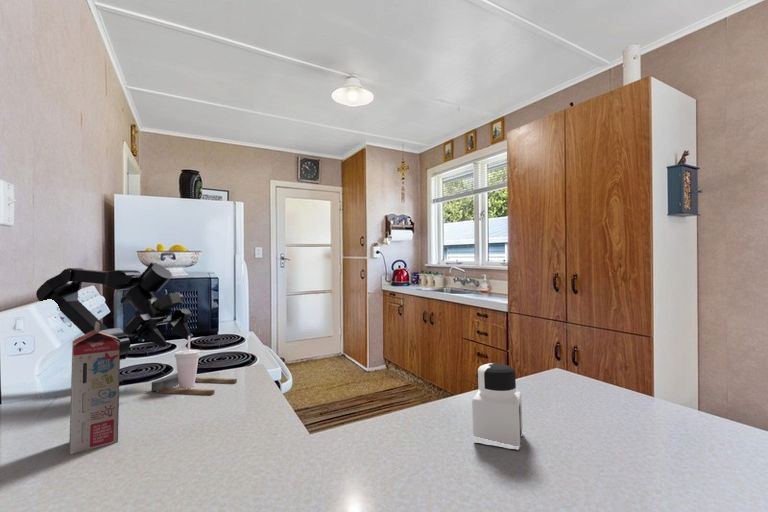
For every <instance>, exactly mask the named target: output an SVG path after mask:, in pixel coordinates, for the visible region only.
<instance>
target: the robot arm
mask: <svg viewBox="0 0 768 512" xmlns="http://www.w3.org/2000/svg"><path fill="white" fill-rule="evenodd" d="M172 277H173V275H172V272H171V271H170V270H169V269H167V268H165V267H163V266H162V265H159V264H158V263H157V262H150V264H148V266H147V267H146V268H145V270H144V271H143V272H142V274H141V272H140V271H139V270H132V269H126V270H125V269H117V270H108V271H105V270H104V271H103V270H93V269H83V268H82V267H81V268H79V267H77V268H76V267H75V268H73V267H72V268H71V267H68V268H65V269H63V270H62V271H61V272H60V273H59V274H57V275H55V276H53V277H51V278H49V279H47V280H46V281H45V282H44V283H43V284H41V285H40V286H39V288H38V289H37V290H36V293H35V294H36V298H37V299H38V300H37V301H39V302H40V301H43V300H47V299H52V300H54V301H55V302H56V303H57V304H58V306H59V308H60V310H59V311H60V312H61V313H62V314H63V315H64V316H65V317H66V318H67V319H68V320H69V321H70V322H71V323H73V325H74V326H75V327H76V328H77V329H78V330H80V332H82V333H83V335H85V334H87V333H89V332H91V331H93V330H95V322H98V323H99V324H100V328H99V331H102V332H105V333H108V334H111V335H113V336H115V337H117V338H118V339H119V340H120V361H122V360H126V359H127V356H128V354H129V352H130V348H131V340H130V339H129V337H134V338H135V339H136V338H139V339H142V340H144V341H148V342H149V343H153V344H156V345H158V346H161V347H163V348H165V347H167V345H168V342H167V341H166V339H165V337H164V336H163V335H162V333H161V332H160V330H159V329H158V327H157V326H159V325H167V326H168V327H169V328H171V329H170V331H172V332H174V333H175V334H176V335H178V336H180V337H181V338H182V339H184V340H186V341H188V336H190V341H191V340H192V335H191V331H190V329H189V325H188V320H189V319H190V317H191V316H192V315H193V313H192V312H191V311H190V310H189V308H181V309H180V308H179V309H175V311H174V312H173V310H174V309H173V308H175V307H176V306H179V305H182V304H183V302H184V300H185V297H184V295H183V294H182V293H180V292H179V291H176V292H171V293H167V294H164V295H162V296H161V297H156V296H155V295H154V294H153V293H157V292H159V291H161V289H162V288H163V287H164V286H165V285H166V284H167V283H168V282H169V281H170V279H171V278H172ZM83 283H85V284H87V283H89V284H98V285H104V286H105V287H106V288H109V289H112V290H114V291H123V290H125V291H126V290H127V291H126V293H122V297H121V298H120V304H128V303H130V304H131V305H132V307H134V309H135V310H136V311H135V313H134V314H135V316H134V317H132V318H131V320H130V321H128V323H127V324H126V325H125V329H124V331H125V332H124V331H123V329H122V328H121V327H114V328H108V327H107V326H106V325H105V324H104V323H103V322H101V320H100V319H99V318H98V317H96V316H95V315H94V314H93V313H92V312H91V311H90V310H89V309H88V308H87V307H86V306H85V305H84V304H83V303H82V302H80V300H79V291H80V290H81V289H82V284H83ZM172 312H173V313H172ZM170 313H172V314H171V315H170ZM123 381H124V380H123V379H121V378H119V384H120V383H123Z"/></svg>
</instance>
